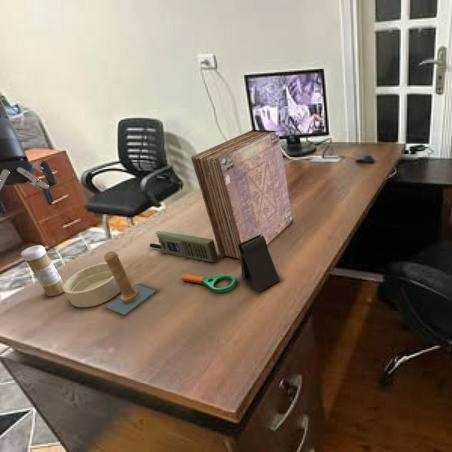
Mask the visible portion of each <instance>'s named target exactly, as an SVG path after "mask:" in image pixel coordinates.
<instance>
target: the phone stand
mask: <svg viewBox="0 0 452 452" xmlns="http://www.w3.org/2000/svg"><path fill="white" fill-rule="evenodd" d="M260 236H261V234H260V235H258V236H256V237H253V238H251V239H249V240H247V241H245V242H243V243H240V244H238V248H239V251H240V258H241V259H240V269H241V270H240V271H241V277H242V279H243V280H245V282H247V283H248V284H249V285H250V286H251V287H252V288H253V289H254V290H256V292H257V293H261V292H262V291H265V290H267V289H268V288H270V287H272V286H273V285H275V284H277V283H279V282H280V277H279V274H278V272H277V270H276V267H275V264H274V261H273V258H272V256H271V254H270V250H269V248H268V244H267V245H266V240H265V238H264V236H261V237H260Z"/></svg>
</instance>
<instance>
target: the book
mask: <svg viewBox="0 0 452 452" xmlns="http://www.w3.org/2000/svg"><path fill="white" fill-rule="evenodd" d="M190 159H191V162H192V166H193V169H194V173H195V176H196V179H197V183H198V186H199V189H200V193H201V196H202V199H203V202H204V207H205V209H206V213H207V215H208V219H209V223H210V226H211V228H212V232H213V236H214V239H215V243H216V246H217V250H218V252H219V256H220V258H224V257H225V256H226V257H230V258H235V259H238V260H241V258H240V251H239V248H238V244H240V243H243V242H245V241H247V240H249V239H251V238H253V237H256V236H258V235H260V234H261V236H264V238H265V240H266V245H267V246H268V245H269V243H271V241H273V240H274V239H275V238H276V237H278V236H279V234H281V232H283V231H284V230H285V229H286V228H287V227H288V226H289V225H290V224H292V223H293V222H294V216H293V210H292V204H291V198H290V192H289V188H288V186H289V185H288V182H287V174H286V169H285V163H284V162H285V161H284V157H283V152H282V145H281V139H280V134H279V130H264V129H251V130H249V131H247V132H244V133H242V134H240V135H237V136H235V137H233V138H230V139H228V140H226V141H223V142H221V143H219V144H217V145H214V146H212V147H209V148H208V149H204V151H200V152H199V153H196V154H193V155H192V156H191V158H190ZM261 236H260V237H261Z"/></svg>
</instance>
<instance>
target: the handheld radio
mask: <svg viewBox="0 0 452 452" xmlns="http://www.w3.org/2000/svg"><path fill="white" fill-rule="evenodd" d="M155 234H156V237H157V239H158V243H153V242H152V243H150V244H149V248H152V249H157V250H162V251H161V253H163V254H169V255H173V256H177V257H178V256H179V257H183V258H188V259H194V260H199V261H204V262H209V263H216V262H217V261H218V260H219V255H218V253H217V249H216V244H215V241H214V239H213V238H208V237H202V236H197V235H196V236H195V235H189V234H182V233H176V232H171V231H166V230H165V231H163V230H161V231H160V230H159V231H155Z"/></svg>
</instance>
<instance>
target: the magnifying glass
mask: <svg viewBox="0 0 452 452" xmlns="http://www.w3.org/2000/svg"><path fill="white" fill-rule="evenodd" d="M227 279H228V280H230V281H231V282H230V284H228V285H227V286H224V287H220V288H218V287H215V286H214V285H215V284H216V283H217V282H219V281H222V280H227ZM181 280H182V281H185V282H190V283H196V284H201V285H204V286H205V287H206V288H208V289H209V290H210V291H212V292H213V293H215V294H224V293H227V292H230V291H232V290H233V289H235V287H236V286H237V281H236V280H237V279H236V277H235V276H234V275H232V274H228V273H225V274H216V275H210V276H201V275H196V274H189V273H184V274H183V275H182V276H181Z"/></svg>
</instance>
